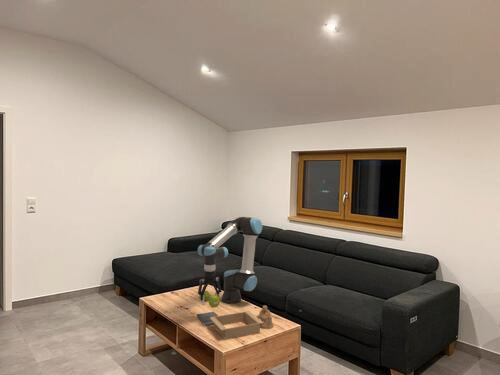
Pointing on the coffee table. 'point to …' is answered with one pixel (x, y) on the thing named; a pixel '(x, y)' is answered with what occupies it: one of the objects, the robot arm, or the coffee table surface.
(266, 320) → the statue
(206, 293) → the dumbbell
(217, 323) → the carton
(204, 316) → the mat
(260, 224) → the robot arm
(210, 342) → the coffee table surface
